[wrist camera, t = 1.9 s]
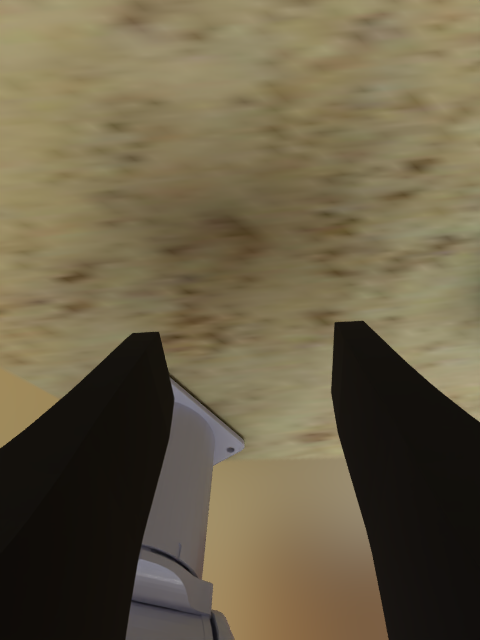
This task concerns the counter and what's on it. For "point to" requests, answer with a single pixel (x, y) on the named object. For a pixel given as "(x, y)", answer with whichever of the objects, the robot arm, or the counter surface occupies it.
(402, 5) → the counter surface
